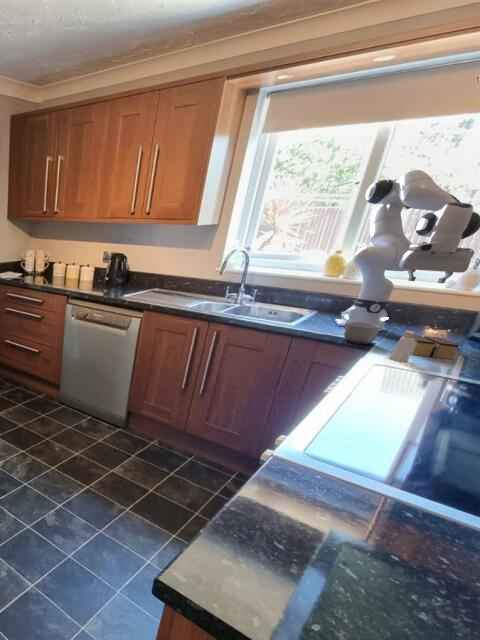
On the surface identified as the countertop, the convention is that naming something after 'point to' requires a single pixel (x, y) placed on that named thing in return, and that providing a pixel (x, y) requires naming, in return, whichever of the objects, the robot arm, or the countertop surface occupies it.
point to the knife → (434, 351)
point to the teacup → (360, 332)
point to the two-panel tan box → (426, 344)
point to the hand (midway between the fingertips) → (425, 281)
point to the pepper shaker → (403, 347)
